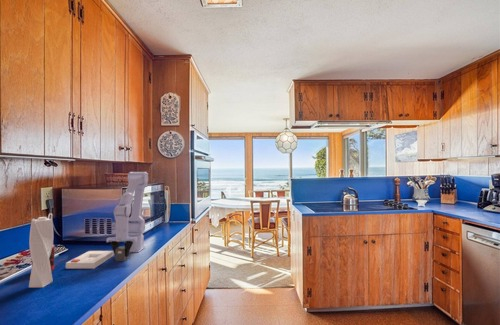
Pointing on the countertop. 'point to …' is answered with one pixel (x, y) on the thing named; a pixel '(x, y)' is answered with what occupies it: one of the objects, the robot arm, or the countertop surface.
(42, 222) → the skyscraper
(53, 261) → the canned food
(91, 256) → the socket plate
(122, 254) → the plug
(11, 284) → the countertop surface
